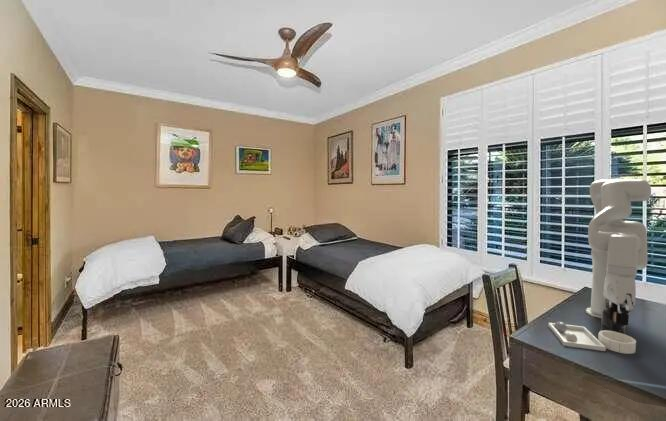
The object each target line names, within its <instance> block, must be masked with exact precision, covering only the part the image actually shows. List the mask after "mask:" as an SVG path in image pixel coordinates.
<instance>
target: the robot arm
mask: <svg viewBox="0 0 666 421" xmlns="http://www.w3.org/2000/svg"><path fill="white" fill-rule="evenodd" d="M651 195H652V187H651V185H650V183H649V181H647V180H645V179H642V178H641V179H638V178H635V179H632V178H631V179H629V178H628V179H626V178H625V179H624V178H623V179H622V178H621V179H618V178H617V179H613V178H612V179H599V180H595V181H593V182H592V183H590V185H589V196H590V199H591V203H592V204H593V206H594V209H595V215H594V216H593V217H592V218H591V220H590V221H589V224H588V226H587V227H588V229H587V235H588V236H587V237H588V238H587V240H588V244H589V248H591V252H590V256H591V263H592V264H591V265H592V278H591V295H590V307H587V308H586V309H585V312H586V314H587V315H588V316H590V317H595V318H599V319H600V320H602V311H603V310H604V309H606V303H608V302H609V307H610V308H609V319H612V320H613V313H614V312H616V324H619V325H626V326H628V325H629V316H630V312H631V311H634V306H635V304H636V299H637V298H636V293H637V291H636V288H637V287H636V277H637V272H638V270H640V271H641V270H644V269H646V267H647V265H648V233H647V232H648V231H647V228H646V226H645V224H644V223H643V222H639V221H634V220H632V221H631V220H625V219H626V218H628V217H630V216H631V215H632V213H633V210H632V203H631V202H647V201H648V200H649V199H650V198H651ZM621 306H623V308H622V309H621Z"/></svg>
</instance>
